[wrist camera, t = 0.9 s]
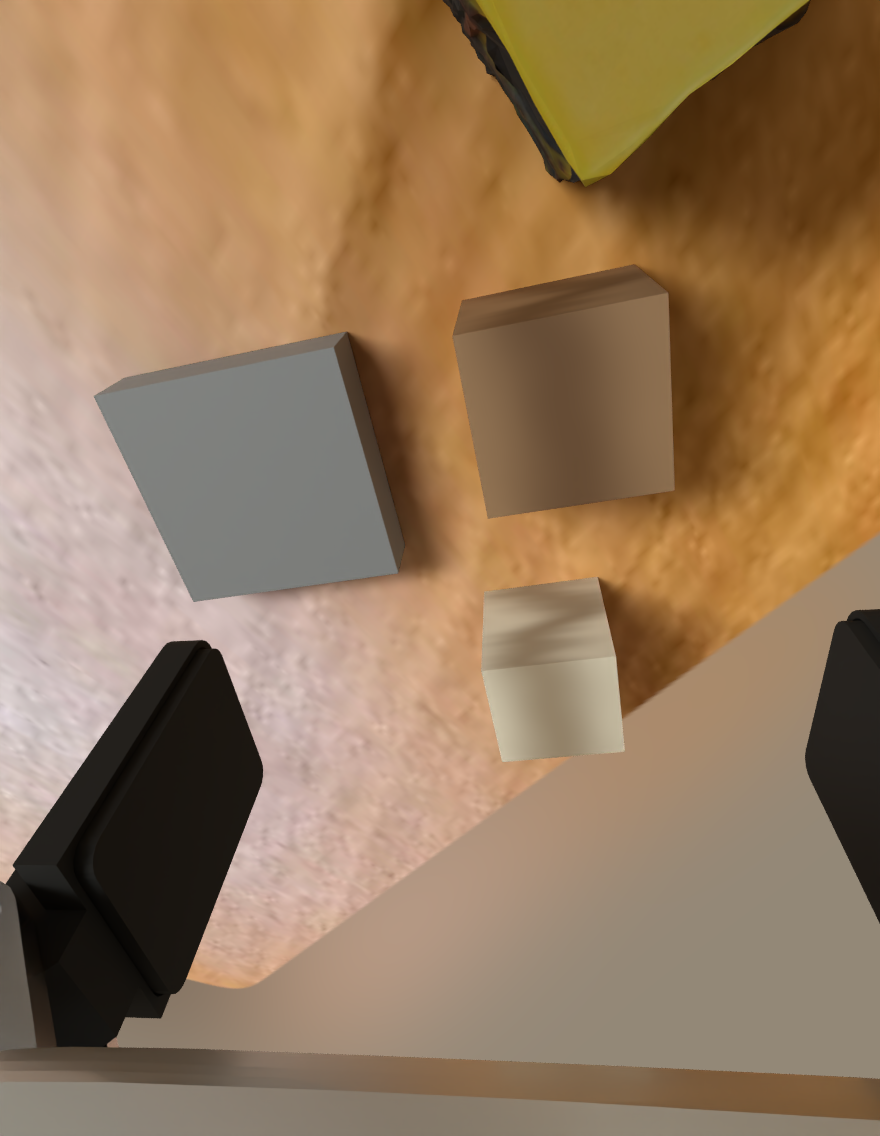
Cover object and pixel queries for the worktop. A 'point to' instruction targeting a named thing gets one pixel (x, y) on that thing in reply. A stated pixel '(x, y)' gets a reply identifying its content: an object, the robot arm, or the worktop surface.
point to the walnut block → (569, 391)
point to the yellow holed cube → (609, 66)
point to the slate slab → (260, 468)
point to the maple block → (551, 671)
